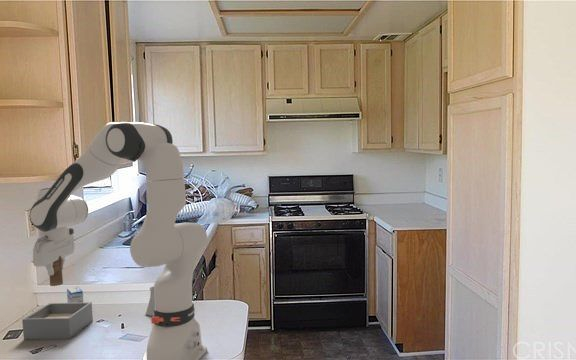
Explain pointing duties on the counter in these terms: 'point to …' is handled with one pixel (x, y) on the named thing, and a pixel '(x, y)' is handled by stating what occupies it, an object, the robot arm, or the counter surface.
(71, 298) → the medicine box
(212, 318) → the counter surface
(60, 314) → the storage box
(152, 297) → the flask
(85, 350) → the counter surface
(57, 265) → the wooden peg
